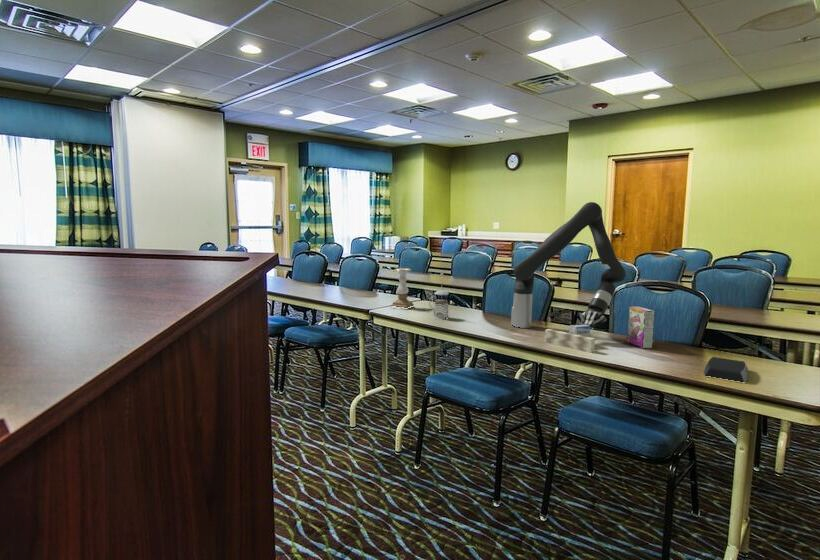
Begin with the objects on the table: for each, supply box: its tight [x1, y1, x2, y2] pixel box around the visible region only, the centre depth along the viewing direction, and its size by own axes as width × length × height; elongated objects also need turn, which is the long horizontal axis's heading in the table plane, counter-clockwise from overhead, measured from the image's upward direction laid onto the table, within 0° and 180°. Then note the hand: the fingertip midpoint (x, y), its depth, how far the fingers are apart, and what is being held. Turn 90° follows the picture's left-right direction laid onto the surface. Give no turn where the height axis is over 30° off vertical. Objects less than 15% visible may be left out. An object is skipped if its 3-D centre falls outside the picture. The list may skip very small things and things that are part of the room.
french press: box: [428, 272, 450, 320], centre depth 260 cm, size 10×12×25 cm
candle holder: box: [390, 267, 415, 308], centre depth 290 cm, size 11×11×24 cm
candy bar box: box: [626, 305, 656, 349], centre depth 206 cm, size 11×5×16 cm, turn 9°
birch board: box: [544, 328, 596, 353], centre depth 203 cm, size 22×3×6 cm, turn 40°
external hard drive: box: [703, 356, 750, 383], centre depth 169 cm, size 13×19×4 cm
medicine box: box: [568, 323, 591, 337], centre depth 206 cm, size 8×4×9 cm, turn 110°
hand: (584, 332), depth 209 cm, fingers closed
